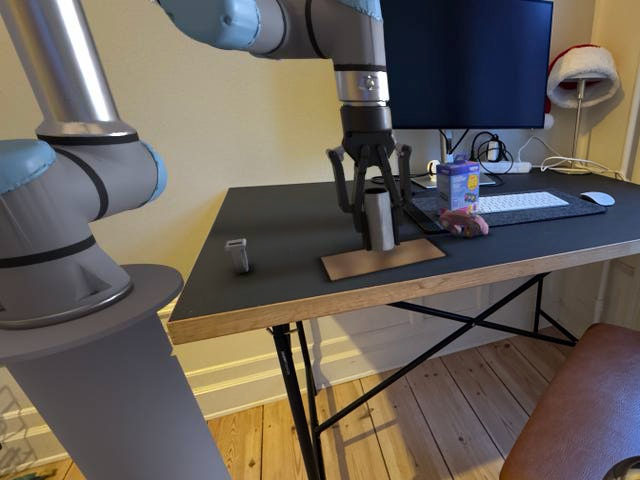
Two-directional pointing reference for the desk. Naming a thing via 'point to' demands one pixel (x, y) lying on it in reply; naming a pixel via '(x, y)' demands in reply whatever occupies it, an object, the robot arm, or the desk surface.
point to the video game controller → (463, 222)
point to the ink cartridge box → (457, 185)
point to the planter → (379, 218)
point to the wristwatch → (238, 254)
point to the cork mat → (379, 259)
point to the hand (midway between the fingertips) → (381, 245)
